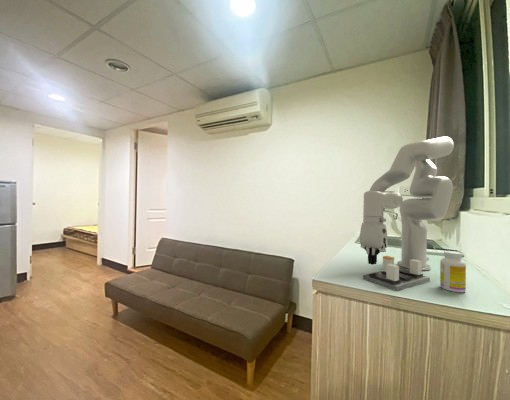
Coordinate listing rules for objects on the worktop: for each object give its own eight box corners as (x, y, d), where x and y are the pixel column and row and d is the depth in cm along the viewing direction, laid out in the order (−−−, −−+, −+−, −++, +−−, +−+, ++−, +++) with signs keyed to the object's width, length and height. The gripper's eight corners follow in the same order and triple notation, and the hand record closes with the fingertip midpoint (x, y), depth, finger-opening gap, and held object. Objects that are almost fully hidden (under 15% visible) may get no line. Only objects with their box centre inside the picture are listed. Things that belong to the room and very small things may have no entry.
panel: (394, 271, 97) (395, 266, 97) (429, 281, 85) (429, 275, 85) (362, 278, 87) (363, 272, 87) (397, 291, 76) (397, 284, 76)
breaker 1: (390, 277, 82) (390, 263, 82) (398, 280, 79) (399, 265, 79) (386, 278, 81) (386, 264, 81) (394, 281, 78) (395, 266, 78)
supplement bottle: (470, 292, 76) (471, 254, 76) (456, 294, 74) (457, 255, 74) (448, 284, 82) (449, 249, 82) (435, 286, 80) (435, 250, 80)
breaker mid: (386, 270, 91) (386, 255, 91) (394, 272, 88) (394, 257, 88) (382, 270, 90) (382, 256, 90) (390, 273, 87) (390, 258, 87)
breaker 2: (412, 271, 89) (413, 259, 89) (421, 274, 86) (421, 261, 86) (409, 272, 88) (409, 259, 88) (418, 275, 85) (418, 261, 85)
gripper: (396, 221, 90) (395, 267, 90) (363, 218, 103) (362, 258, 103) (385, 222, 86) (384, 270, 86) (351, 219, 100) (351, 260, 100)
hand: (372, 263), depth 95 cm, fingers closed
